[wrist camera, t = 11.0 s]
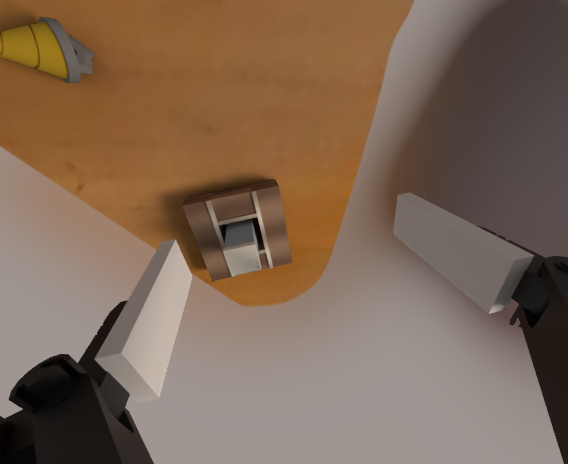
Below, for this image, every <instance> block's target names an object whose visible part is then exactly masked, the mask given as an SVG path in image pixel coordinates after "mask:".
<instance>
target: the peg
mask: <svg viewBox="0 0 568 464" xmlns="http://www.w3.org/2000/svg"><path fill="white" fill-rule="evenodd" d="M223 252H224V255H225V258H226V260H227V263H228V266H229V269H230V272H231V275H232V276H234V275H239V274H243V273H247V272H251V271H256V270H260V269H261V264H260V258H259V251H258V243H257V235H256V231H255V227H254V223H253V219H252V218H251V219H246V220H242V221H237V222H232V223H228V224H227V230H226V238H225V246H224V250H223Z"/></svg>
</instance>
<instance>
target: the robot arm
mask: <svg viewBox="0 0 568 464" xmlns="http://www.w3.org/2000/svg"><path fill="white" fill-rule="evenodd" d="M393 234H394V235H395V236H396V237H397V238H398V239H400V240H401V241H402V242H403V243H405V244H406V245H407V246H408V247H409V248H411V249H412V250H413V251H414V252H415V253H416V254H418V255H419V256H420V257H421V258H422V259H424V260H425V261H426V262H427V263H428V264H430V265H431V266H432V267H433V268H434V269H436V270H437V271H438V272H440V274H442V275H443V276H444V277H445V278H447V279H448V280H449V281H450V282H451V283H452V284H454V285H455V286H456V287H457V288H458V289H460V290H461V291H462V292H463V293H464V294H466V295H467V296H468V297H469V298H470V299H472V300H473V301H474V302H475V303H476V304H478V305H479V306H480V307H481V308H482V309H484V310H485V311H486V312H487V313H493V312H497V311H501V310H505V309H506V308H507V306H508V304H509V302H510V300H511V298H512V299H514V300H515V301H516V302H517V303H519V305H518V307H517V309H516V311H515V312H514V314H513V316H512V318H511V320H510V325H514V323H515V322H516V320H518V319H519V320H520V325H519V327H521V328H522V330H523V333H524V336H525V340H526V343H527V345H528V349H529V353H530V356H531V359H532V362H533V365H534V368H535V372H536V375H537V378H538V382H539V385H540V387H541V391H542V394H543V397H544V401H545V404H546V407H547V410H548V414H549V417H550V420H551V423H552V426H553V430H554V433H555V436H556V439H557V443H558V446H559V449H560V452H561V455H562V459H563V462H564V464H568V257H561V256H552V257H547V258H544V257H543V256H541V255H539V254H537V253H535V252H533V251H531V250H529V249H526V248H524V247H522V246H520V245H518V244H516V243H514V242H512V241H510V240H507V239H506V238H504V237H502V236H498V234H496V233H494V232H492V231H490V230H488V229H486V228H483V227H479V226H475V225H473V224H471V223H469V222H467V221H465V220H463V219H461V218H459V217H457V216H455V215H453V214H451V213H449V212H447V211H445V210H443V209H441V208H439V207H437V206H435V205H434V204H432V203H430V202H428V201H426V200H423V199H422V198H420V197H418V196H416V195H414V194H412V193H405V194H400V195H398V200H397V207H396V215H395V223H394V230H393ZM191 280H192V275H191V273H190V270H189V268H188V266H187V264H186V261H185V259H184V257H183V255H182V253H181V250H180V248H179V246H178V244H177V241H176V239H175V240H170V241H165V242H161V244H160V246H159V247H158V249H157V251H156V253H155V255H154V256H153V258H152V260H151V261H150V263H149V265H148V267H147V268H146V270H145V272H144V274H143V275H142V277H141V279H140V280H139V282H138V284H137V286H136V287H135V289H134V291H133V293H132V295H131V296H130V298H129V300H127V301H123V302H120V303H119V304H118V305H117V306H116V307H115V308H114V309H113V310H112V311H111V312H110V313H109V315H108V316H107V318H106V319H105V321H104V323H103V325H102V326H101V327H100V329H99V330H98V332H97V335H95V337H94V338H93V340H92V342H91V343H90V345H89V346H88V348H87V350H86V351H85V353H84V354H83V356H82V357H81V359H80V361H79V362H78V363H77V362H75V360H74V359H72V358H71V357H70V356H69V355H68V354H59V355H57V356H53V357H50V358H49V359H47V360H45V361H43V362H41V363H39V364H38V365H37V366H35V367H34V368H32V369H31V370H30V371H28V372H27V373H26V374H25V375H24V376H23V377H22V378H21V379H20V380H19V381H18V382H17V384H16V385H15V387H14V388H13V390H12V391H11V393H10V397H9V400H10V401H11V402H13V403H14V404H16V405H18V406H19V407H21V408H22V409H23V410H21V411H19V412H17V413H15V414H13V415H11V416H9V417H7V418H5V419H4V418H3V417H1V416H0V464H154V463H153V461H152V459H151V457H150V454H149V452H148V451H147V448H146V446H145V444H144V442H143V440H142V438H141V436H140V434H139V431H138V429H137V427H136V425H135V423H134V421H133V419H132V417H131V415H130V413H129V411H128V410H127V409H126V408H125V406H126V403H127V400H128V398H129V395H130V396H131V397H132V398H133V399H134V400H135V401H136V402H137V403H140V402H144V401H148V400H152V399H156V398H159V397H160V393H161V390H162V386H163V382H164V379H165V375H166V371H167V368H168V364H169V360H170V357H171V353H172V349H173V346H174V342H175V339H176V335H177V331H178V328H179V324H180V321H181V317H182V313H183V310H184V306H185V302H186V299H187V295H188V292H189V288H190V284H191Z"/></svg>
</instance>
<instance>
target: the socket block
mask: <svg viewBox="0 0 568 464" xmlns="http://www.w3.org/2000/svg"><path fill="white" fill-rule="evenodd" d="M182 208H183V210H184V213H185V215H186V218H187V220H188V223H189V225H190V227H191V230H192V232H193V235H194V237H195V240H196V242H197V245H198V247H199V249H200V252H201V254H202V257H203V259H204V262H205V264H206V266H207V269H208V271H209V274H210V276H211V279H212V281H216V280H220V279H224V278H228V277H232V278H233V277H236V276H237V275H234V276H232V275H231V272H230V269H229V266H228V263H227V260H226V258H225V255H224V252H223V250H224V246H225V238H226V232H225V229H224V226H223V224H228V223H232V222H237V221H242V220H246V219H251V218H255V217H258V221H259V225H260V229H261V233H262V238H263V239H259V240H257V243H258V251H259V258H260V264H261V269H260V270H262V269H266V268H270V269H271V268H273V267H275V266H279V265H283V264H288V263H292V259H291V254H290V248H289V242H288V237H287V231H286V225H285V220H284V214H283V208H282V202H281V197H280V191H279V186H278V184H277V182H276V180H271V181H266V182H262V183H257V184H252V185H247V186H242V187H237V188H232V189H228V190H223V191H218V192H213V193H208V194H203V195H199V196H194V197H189V198H187V199H186V200H185V202H184V203H183V205H182ZM256 271H258V270H256ZM251 272H254V271H251ZM247 273H250V272H247ZM243 274H245V273H243ZM239 275H241V274H239Z"/></svg>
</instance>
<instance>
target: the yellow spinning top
mask: <svg viewBox="0 0 568 464" xmlns="http://www.w3.org/2000/svg"><path fill="white" fill-rule="evenodd" d="M30 26H31V27H29V26H28V25H26V26H22V27H17V28H13V29H8V30H4V31H2V34H1V33H0V57H2V58H5V59H8V60H11V61H14V62H17V63H20V64H23V65H26V66H29V67H32V68H35V69H37V70H40V71H43V72H46V73H49V74H52V75H55V76H58V77H61V78H62V80H63V81H64V82H66V83H79V82H80V80H81V74H80V73H89V74H93V70H92V58H93V57H97V56H96V55H95V54H94V53H92V52H91V51H90V50H89V49H87V48H86V47H85V46H83V45H82V44H81V43H79V42H78V41H77V40H76V39H74V38H73V37H72V36H70V35H67V33H66V32H65V30H64V28H63V27H62V25H61V24H60V23H59V22H58V21H57V20H56V19H51V18H46V17H40V18H39V23H35V24H31V25H30Z"/></svg>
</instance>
